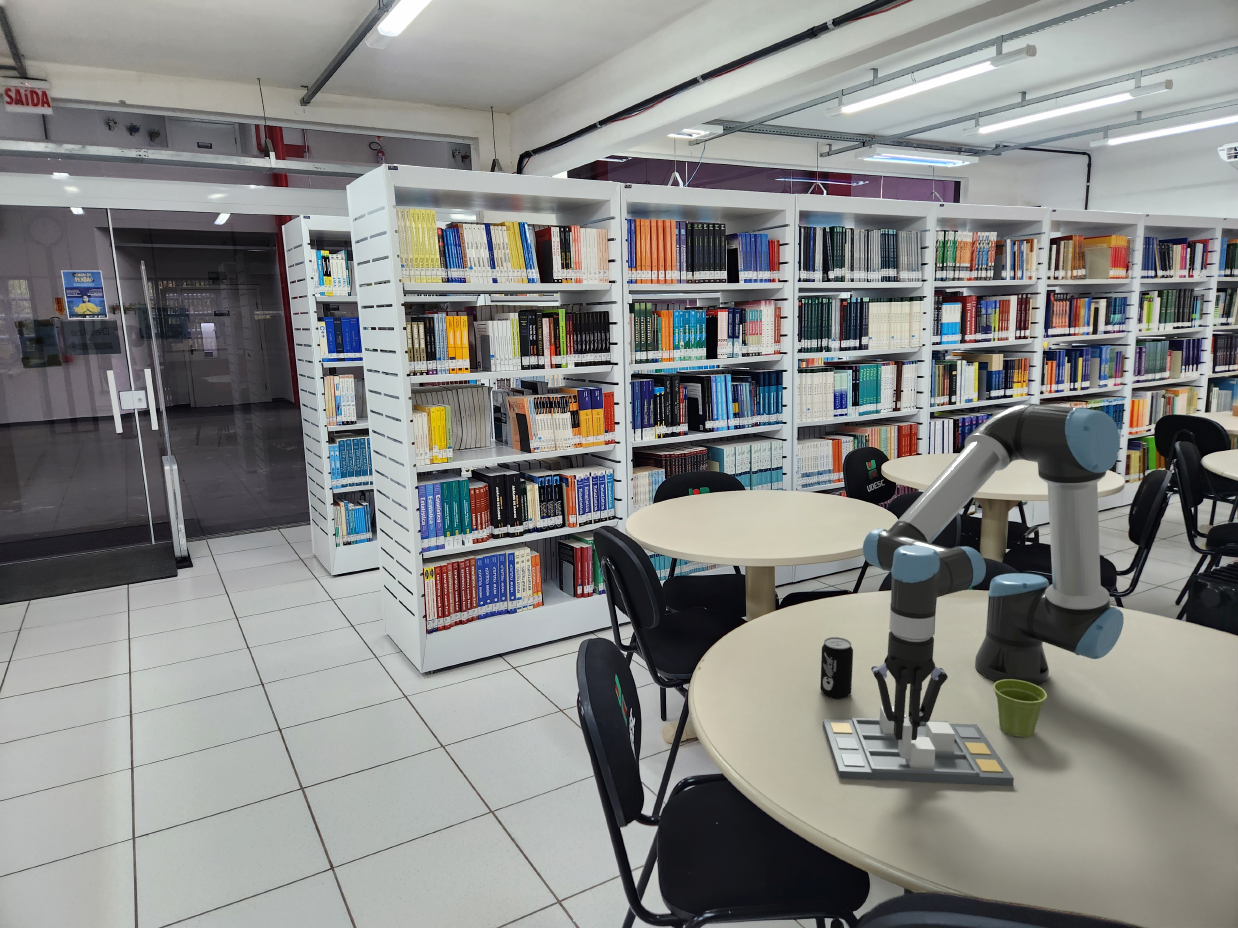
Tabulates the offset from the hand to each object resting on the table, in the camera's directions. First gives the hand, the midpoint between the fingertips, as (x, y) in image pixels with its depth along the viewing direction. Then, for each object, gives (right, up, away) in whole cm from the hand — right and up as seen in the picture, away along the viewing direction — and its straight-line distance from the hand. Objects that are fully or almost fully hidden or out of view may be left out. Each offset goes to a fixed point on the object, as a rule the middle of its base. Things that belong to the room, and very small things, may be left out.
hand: (904, 754), depth 139 cm
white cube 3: (+3, -1, 0) cm, 3 cm away
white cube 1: (+2, +1, +11) cm, 11 cm away
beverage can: (-4, +2, +29) cm, 30 cm away
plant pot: (+27, 0, +13) cm, 30 cm away
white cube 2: (+8, 0, +5) cm, 10 cm away
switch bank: (+4, -2, +6) cm, 7 cm away
